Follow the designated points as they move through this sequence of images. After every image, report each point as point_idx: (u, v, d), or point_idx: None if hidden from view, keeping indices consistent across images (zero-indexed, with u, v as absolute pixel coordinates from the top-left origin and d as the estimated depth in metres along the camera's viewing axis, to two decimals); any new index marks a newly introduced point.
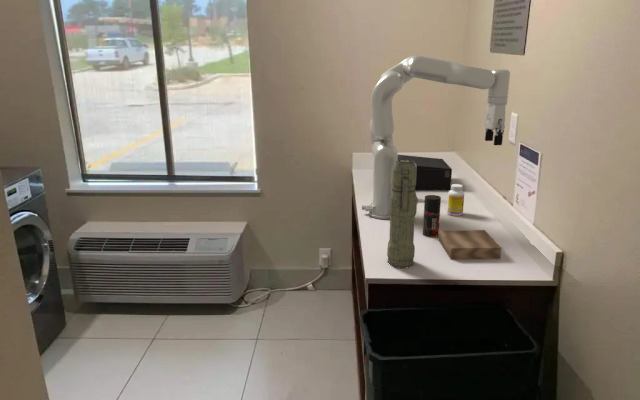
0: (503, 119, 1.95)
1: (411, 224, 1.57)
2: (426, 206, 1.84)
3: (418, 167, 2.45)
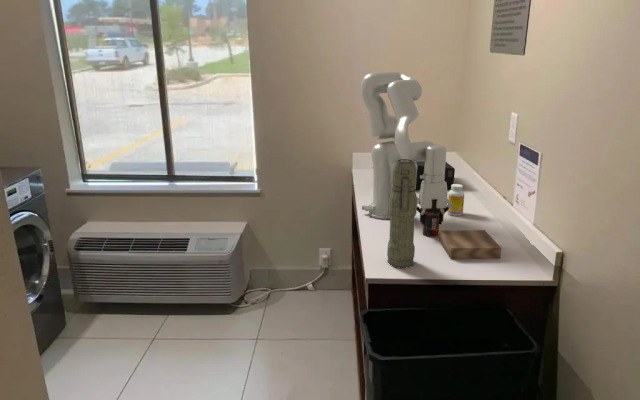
0: None
1: (411, 224, 1.57)
2: None
3: (421, 167, 2.45)
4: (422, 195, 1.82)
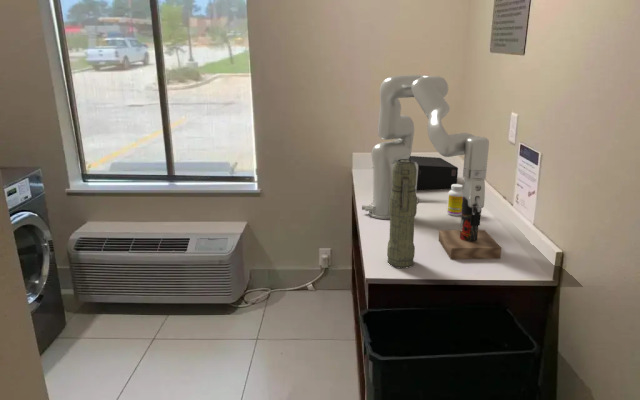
0: None
1: (411, 224, 1.57)
2: None
3: (426, 167, 2.45)
4: None
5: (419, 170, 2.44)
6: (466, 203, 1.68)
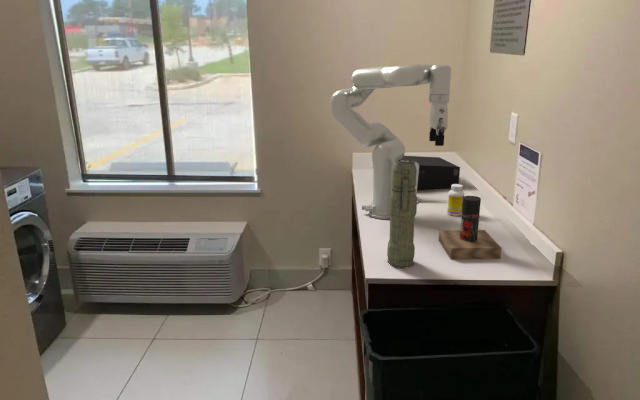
0: None
1: (411, 224, 1.57)
2: (477, 209, 1.68)
3: (429, 167, 2.45)
4: (447, 116, 1.83)
5: (422, 170, 2.44)
6: (466, 203, 1.68)
